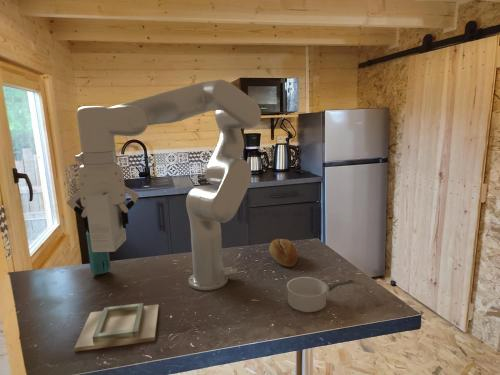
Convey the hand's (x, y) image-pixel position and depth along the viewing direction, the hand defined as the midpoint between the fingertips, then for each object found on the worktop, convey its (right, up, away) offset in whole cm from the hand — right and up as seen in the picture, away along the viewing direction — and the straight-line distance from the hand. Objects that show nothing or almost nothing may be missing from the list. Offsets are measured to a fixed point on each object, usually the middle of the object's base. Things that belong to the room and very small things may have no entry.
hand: (107, 228), depth 86 cm
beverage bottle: (-16, -20, +33) cm, 42 cm away
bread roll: (+48, -17, +41) cm, 65 cm away
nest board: (+3, -26, +2) cm, 26 cm away
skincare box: (0, -5, +1) cm, 5 cm away
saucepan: (+56, -23, +12) cm, 62 cm away
